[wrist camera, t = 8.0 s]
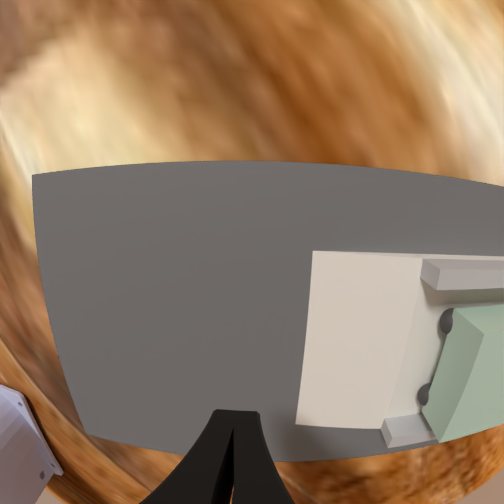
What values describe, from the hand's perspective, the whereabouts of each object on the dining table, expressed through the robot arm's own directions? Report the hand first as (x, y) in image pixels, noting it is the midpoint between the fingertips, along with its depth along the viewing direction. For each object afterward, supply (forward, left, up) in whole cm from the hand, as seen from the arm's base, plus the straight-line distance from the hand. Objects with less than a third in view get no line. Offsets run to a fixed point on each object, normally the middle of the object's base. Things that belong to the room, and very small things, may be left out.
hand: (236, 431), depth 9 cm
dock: (0, -4, -5) cm, 6 cm away
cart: (0, -12, -4) cm, 12 cm away
